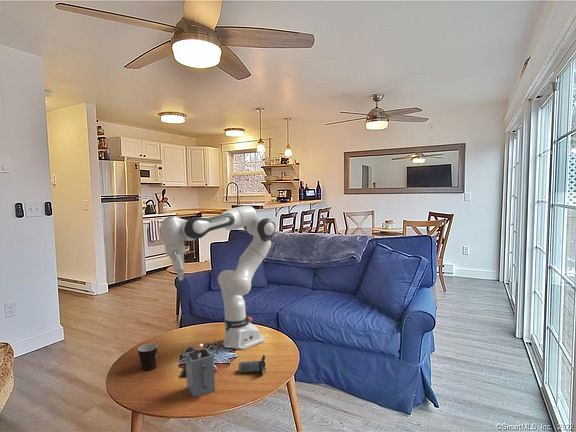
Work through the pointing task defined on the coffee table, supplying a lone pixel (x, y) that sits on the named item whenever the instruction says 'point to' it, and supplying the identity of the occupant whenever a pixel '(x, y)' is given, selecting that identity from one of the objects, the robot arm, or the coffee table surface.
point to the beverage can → (253, 366)
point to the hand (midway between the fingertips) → (181, 279)
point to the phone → (183, 373)
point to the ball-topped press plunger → (198, 348)
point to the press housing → (200, 373)
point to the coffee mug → (148, 356)
